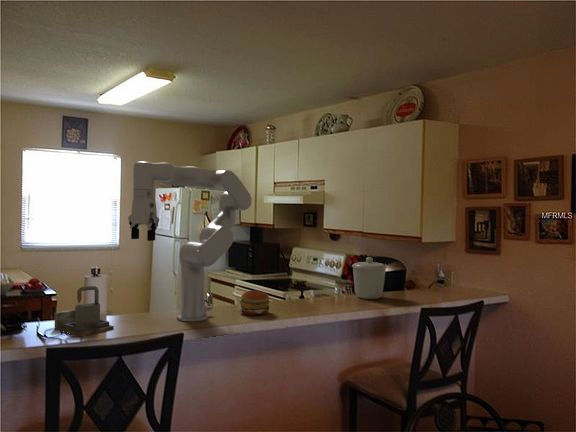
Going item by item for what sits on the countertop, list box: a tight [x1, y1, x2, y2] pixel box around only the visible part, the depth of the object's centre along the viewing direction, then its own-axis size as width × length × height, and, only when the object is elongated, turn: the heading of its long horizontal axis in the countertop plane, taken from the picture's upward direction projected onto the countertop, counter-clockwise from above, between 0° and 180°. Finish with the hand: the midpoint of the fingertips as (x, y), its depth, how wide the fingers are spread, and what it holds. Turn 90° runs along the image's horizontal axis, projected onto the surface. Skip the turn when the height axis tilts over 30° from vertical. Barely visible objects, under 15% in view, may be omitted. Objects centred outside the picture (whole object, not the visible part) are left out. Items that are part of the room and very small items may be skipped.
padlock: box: [75, 285, 101, 327], centre depth 182 cm, size 4×8×15 cm, turn 121°
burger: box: [238, 289, 271, 316], centre depth 216 cm, size 13×14×10 cm
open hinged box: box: [54, 309, 115, 338], centre depth 184 cm, size 14×16×6 cm
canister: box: [351, 256, 388, 300], centre depth 257 cm, size 18×18×21 cm
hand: (143, 239), depth 188 cm, fingers open, 9 cm apart
